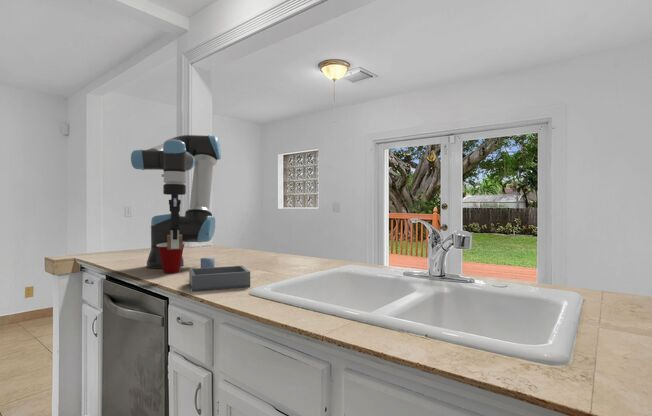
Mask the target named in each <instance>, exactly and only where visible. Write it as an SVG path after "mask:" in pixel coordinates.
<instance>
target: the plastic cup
mask: <svg viewBox="0 0 652 416" xmlns="http://www.w3.org/2000/svg"><path fill="white" fill-rule="evenodd" d="M185 244H186V242H182V249H176V250H167V243H161V244H157V245H156V246H157V247H158V249H159V252H160V257H161V263H162V267H163V268H162V271H163V273H164V274H175V273H176V274H178V273H179V272H180V270H181V269H180V268H181V266H180V264H181V259H182V257H183V251H184V248H185Z"/></svg>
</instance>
